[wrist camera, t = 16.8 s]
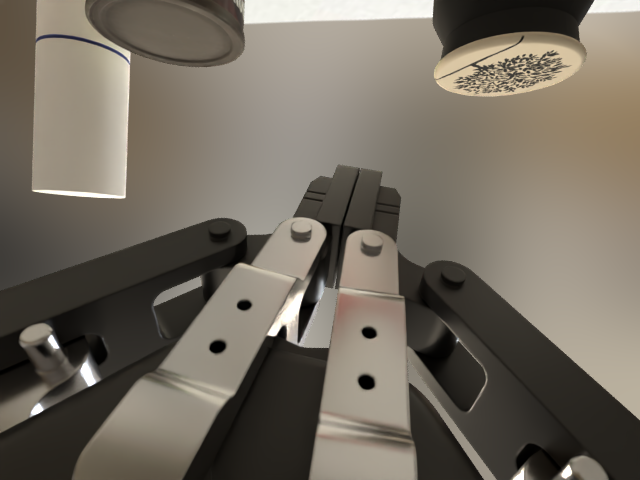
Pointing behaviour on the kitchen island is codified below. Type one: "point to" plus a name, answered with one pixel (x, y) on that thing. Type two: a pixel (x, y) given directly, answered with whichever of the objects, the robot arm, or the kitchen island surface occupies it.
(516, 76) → the travel mug
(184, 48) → the coffee can
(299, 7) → the kitchen island surface
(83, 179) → the cylindrical container
